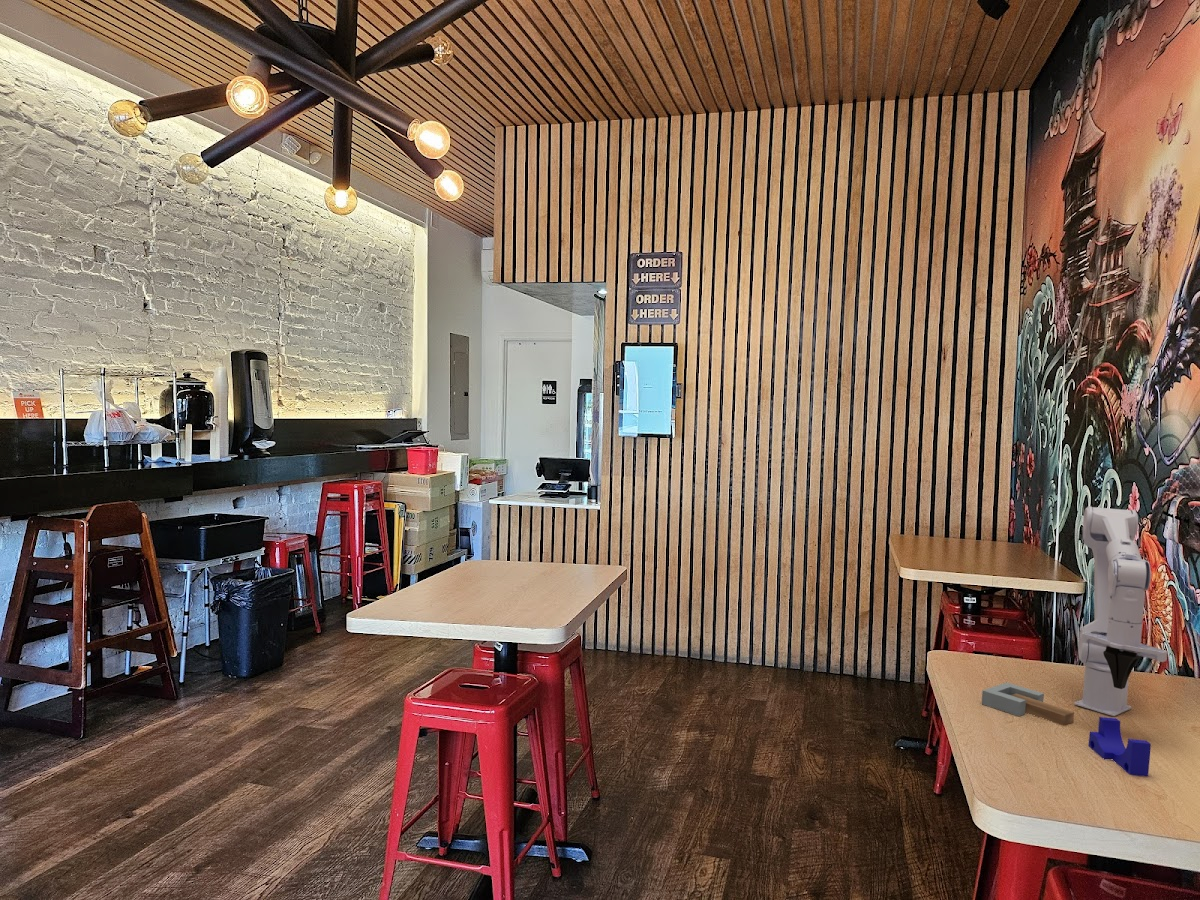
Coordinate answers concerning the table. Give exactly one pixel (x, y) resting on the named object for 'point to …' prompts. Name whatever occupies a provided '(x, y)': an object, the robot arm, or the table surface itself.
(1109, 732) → the cable clip
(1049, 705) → the slat
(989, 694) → the end cap
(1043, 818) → the table surface
